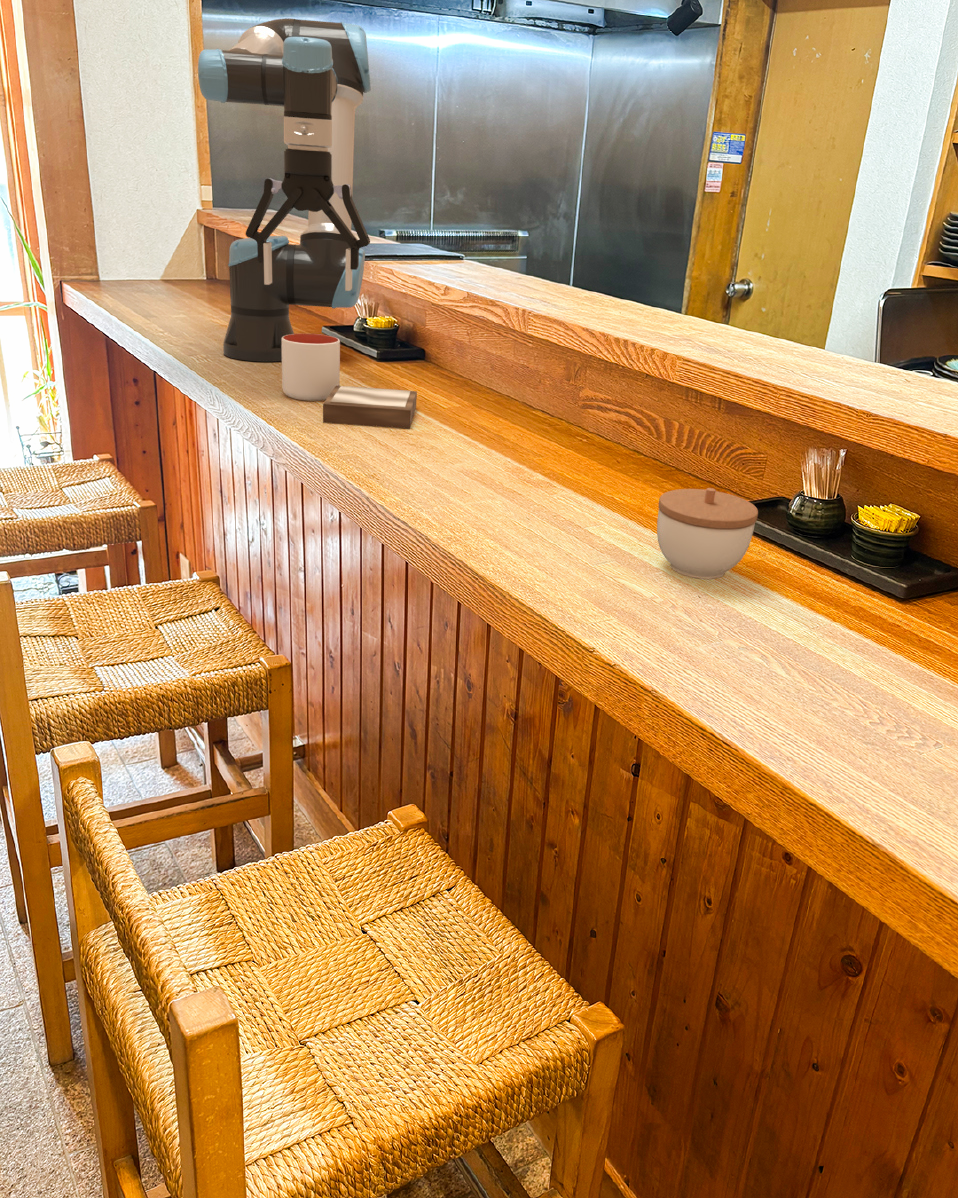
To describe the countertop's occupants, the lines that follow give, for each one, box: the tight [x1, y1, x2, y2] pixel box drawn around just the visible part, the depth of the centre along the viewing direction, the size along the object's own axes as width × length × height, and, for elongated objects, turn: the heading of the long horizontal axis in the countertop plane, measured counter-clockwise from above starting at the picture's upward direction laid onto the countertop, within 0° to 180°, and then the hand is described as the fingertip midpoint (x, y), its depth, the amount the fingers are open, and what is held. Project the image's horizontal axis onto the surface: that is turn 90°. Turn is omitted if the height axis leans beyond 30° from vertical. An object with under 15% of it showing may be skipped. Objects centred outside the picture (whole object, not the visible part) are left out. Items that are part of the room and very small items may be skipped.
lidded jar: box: [656, 487, 759, 580], centre depth 108 cm, size 11×11×9 cm
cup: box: [281, 333, 341, 402], centre depth 172 cm, size 10×10×10 cm
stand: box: [322, 385, 418, 430], centre depth 163 cm, size 14×14×3 cm
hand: (308, 286), depth 165 cm, fingers open, 13 cm apart
